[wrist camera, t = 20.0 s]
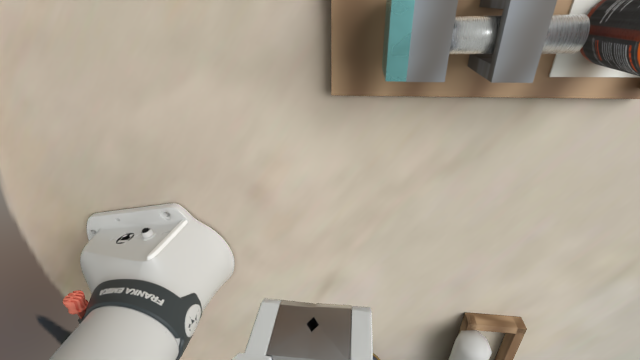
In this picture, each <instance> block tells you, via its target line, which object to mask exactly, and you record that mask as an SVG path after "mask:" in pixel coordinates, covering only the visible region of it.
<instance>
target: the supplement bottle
mask: <svg viewBox="0 0 640 360" xmlns="http://www.w3.org/2000/svg"><path fill="white" fill-rule="evenodd" d="M587 16H588V17H589V20H590V31H589V35H588V38H587V40H586V42H585V44H584V45H583V47H582V48H581V49H580V52H581V54H582V55H583V56H584V58H585V59H587V60H588V61H590V62H592V63H595V64H597V65H600V66H604V67H607V68H611V69H615V70H619V71H622V72H626V73H629V74H633V75H637V76H640V0H602V1H600V2H599V3H598V4H597V5H596V6H595V7H593V8H592V10H591V11H590V12H589V13H588V15H587Z"/></svg>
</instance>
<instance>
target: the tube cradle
mask: <svg viewBox="0 0 640 360" xmlns="http://www.w3.org/2000/svg"><path fill="white" fill-rule="evenodd" d="M467 330H480V331H491V332H503V333H505V336H504V338H503V341H502V343H501V346H500V348H499V350H498V353H497V355H496V358H495V360H513V358H514V356H515V354H516V352H517V350H518V347H519V345H520V343H521V341H522V339H523V336H524V334H525V332H526V330H527V328H526V326H525V324H524V322H523V320H522V318H521V317H514V316H501V315H489V314H477V313H464V317H463V320H462V323H461V327H460V330H459V333H458V335H459V334H460V332H461V331H467Z"/></svg>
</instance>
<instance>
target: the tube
mask: <svg viewBox="0 0 640 360" xmlns="http://www.w3.org/2000/svg"><path fill="white" fill-rule="evenodd" d="M491 354H492V351H491V348H490V345H489V342H488V340H487V339H486V337H484V336H483V335H482V334H481V333H479V332H478V331H477V330H467V331H461V332H460V334H459V335H458V337H457V338H456V340H455V343H454V346H453V349H452V352H451V354H450V357H449V360H489V358H490V356H491Z"/></svg>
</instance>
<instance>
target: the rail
mask: <svg viewBox="0 0 640 360" xmlns="http://www.w3.org/2000/svg"><path fill="white" fill-rule="evenodd" d="M386 1H387V0H331V95H347V96H435V97H523V98H610V99H640V76H637V75H633V74H629V73H626V72H622V71H619V70H615V69H611V68H607V67H604V66H600V65H597V64H595V63H592V62H590V61H588V60H587V59H585V58H584V56H583V55H582V54H581V52H580V50H579V51H578V52H576V53H574V54H541V53H542V50H543V47H544V43H545V40H546V36H547V33H548V30H549V26H550V23H551V20H552V16H553V15H572V14H585V15H588V13H589V12H590V11H591V10H592V8H593V7H595V6H596V5H597V4H598V3H599V2H600V1H602V0H415V4H414V13H413V23H412V32H411V41H410V50H409V59H408V69H407V78H406V82H395V81H385V78H384V74H383V70H382V57H383V43H384V29H385V15H386ZM455 16H502V17H501V21H500V26H499V30H498V34H497V39H496V43H495V47H494V52H493V54H449V52H450V46H451V40H452V34H453V28H454V22H455Z"/></svg>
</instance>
